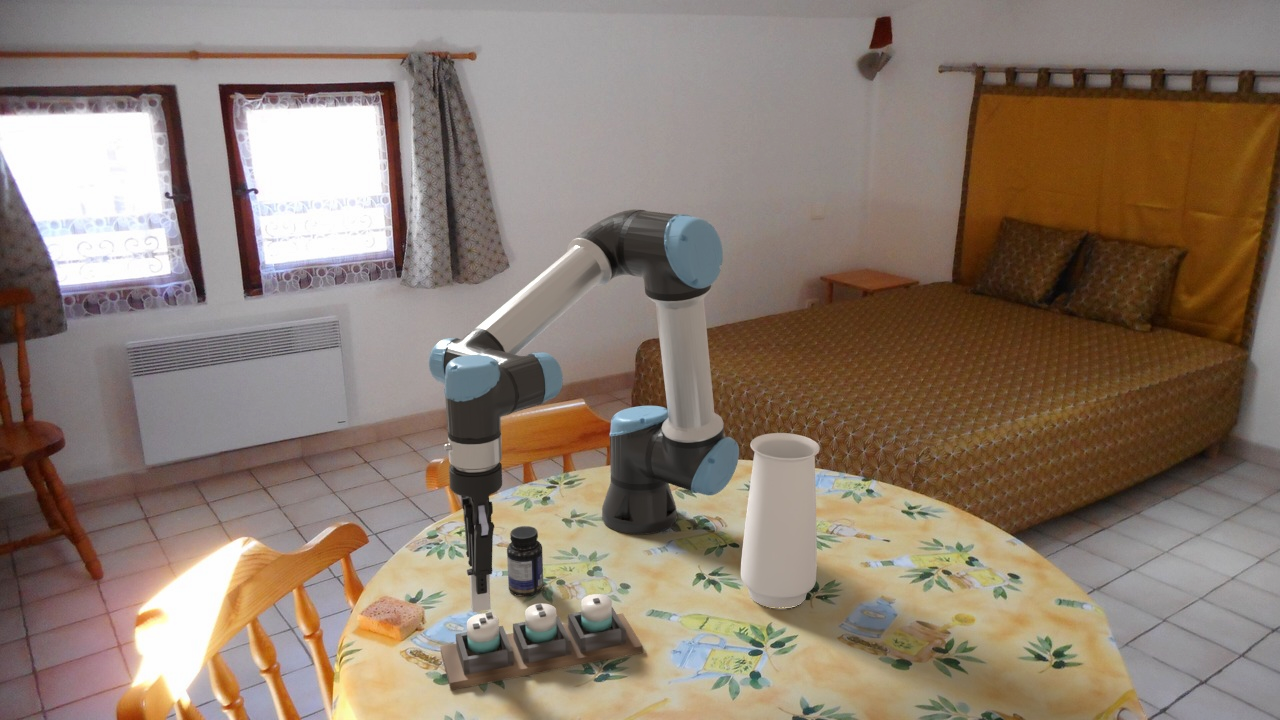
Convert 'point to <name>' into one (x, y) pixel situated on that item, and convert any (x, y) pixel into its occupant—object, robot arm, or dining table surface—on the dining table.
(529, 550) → the pill bottle
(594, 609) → the button one
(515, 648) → the button board
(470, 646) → the button three
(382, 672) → the dining table surface
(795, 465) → the vase
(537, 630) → the button two
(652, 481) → the robot arm
